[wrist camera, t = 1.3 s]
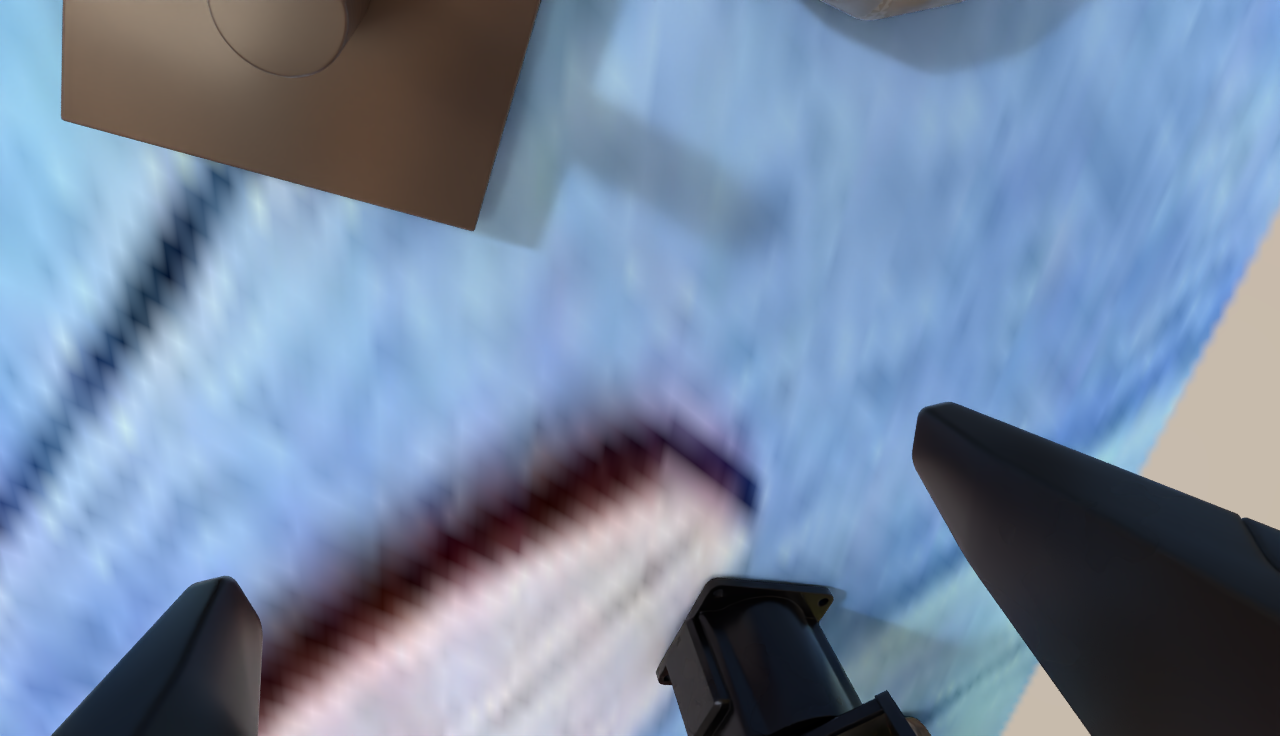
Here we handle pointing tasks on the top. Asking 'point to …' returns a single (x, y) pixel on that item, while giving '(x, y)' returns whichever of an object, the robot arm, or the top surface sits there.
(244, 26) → the tape stand
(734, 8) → the top surface
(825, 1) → the grey-brown segmented ring
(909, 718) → the sauce bottle
